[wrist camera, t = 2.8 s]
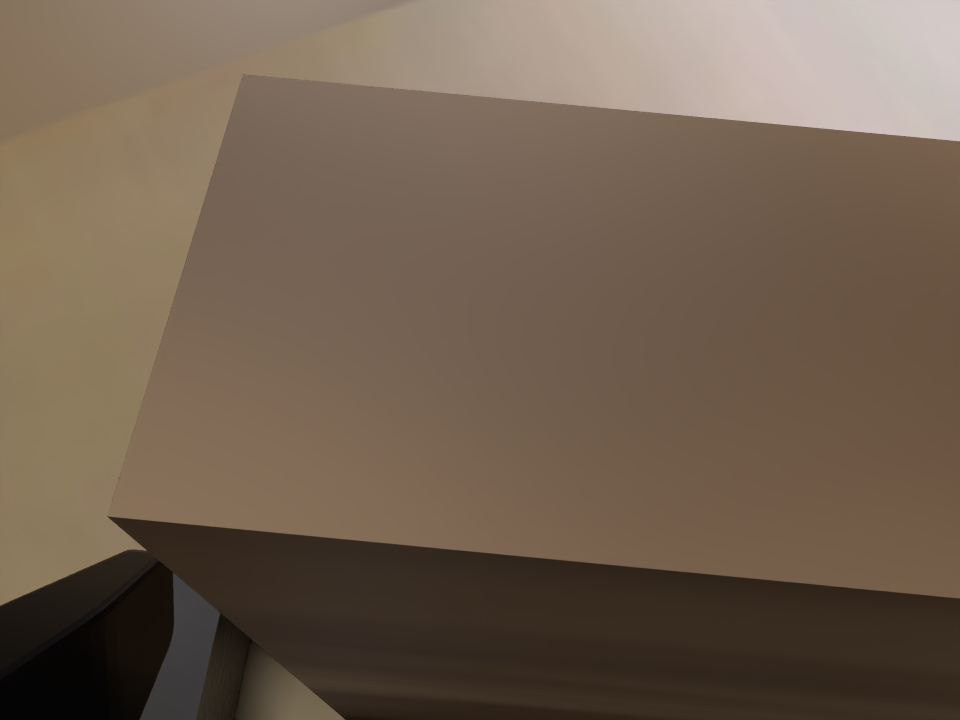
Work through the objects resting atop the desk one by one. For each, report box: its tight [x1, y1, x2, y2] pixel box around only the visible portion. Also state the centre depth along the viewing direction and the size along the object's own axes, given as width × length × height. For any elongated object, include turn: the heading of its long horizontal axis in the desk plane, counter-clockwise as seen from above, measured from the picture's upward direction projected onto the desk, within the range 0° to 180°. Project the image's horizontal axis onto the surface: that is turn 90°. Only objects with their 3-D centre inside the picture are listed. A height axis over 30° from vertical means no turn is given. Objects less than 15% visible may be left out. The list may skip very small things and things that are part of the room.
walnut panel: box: [107, 74, 960, 720], centre depth 10 cm, size 3×6×13 cm, turn 85°
